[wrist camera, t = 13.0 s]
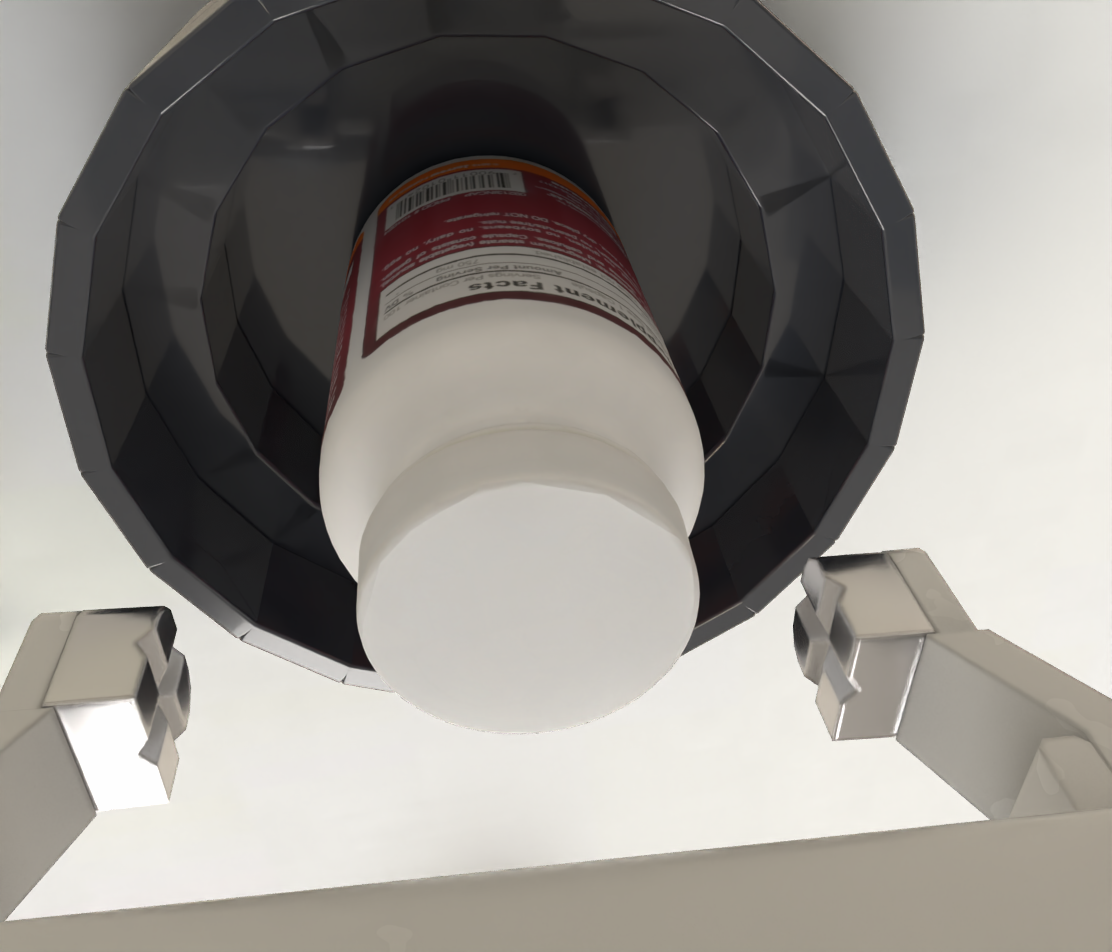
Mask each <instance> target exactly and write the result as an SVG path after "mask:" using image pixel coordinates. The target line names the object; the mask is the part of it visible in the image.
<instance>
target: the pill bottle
mask: <svg viewBox="0 0 1112 952" xmlns="http://www.w3.org/2000/svg"><path fill="white" fill-rule="evenodd" d="M703 488H704V454H703V447H702V442H701V437H700V433H699V429H698V425H697V422H696V419H695V416H694V413H693V411H692V409H691V406H690V404H689V401H688V398H687V395H686V393H685V390H684V388H683V386H682V384H681V381H680V379H679V376H678V374H677V372H676V370H675V367H674V365H673V363H672V360H671V358H670V356H669V352H668V350H667V348H666V346H665V344H664V341H663V338H662V336H661V334H660V332H659V330H658V327H657V325H656V323H655V320H654V318H653V315H652V313H651V311H650V308H649V306H648V304H647V301H646V299H645V297H644V294H643V292H642V290H641V287H640V285H639V283H638V280H637V278H636V275H635V273H634V271H633V269H632V266H631V264H630V261H629V259H628V257H627V254H626V252H625V249H624V247H623V245H622V243H621V240H620V238H619V236H618V234H617V232H616V231H615V229H614V227H613V226H612V224H611V223H610V221H609V219H608V218H607V217H606V215H605V214H604V213H603V211H602V210H601V209H600V208H599V206H598V205H597V204H596V203H595V201H594V200H593V199H592V198H591V197H590V196H589V195H588V194H587V193H586V192H585V191H583V190H582V189H581V188H580V187H578V186H577V185H576V184H575V183H573V182H572V181H570V180H569V179H567V178H566V177H564V176H563V175H561V174H559V173H557V172H555V171H553V170H551V169H549V168H547V167H544V166H542V165H539V164H536V163H534V162H530V161H526V160H522V159H518V158H513V157H506V156H493V155H490V156H470V157H464V158H458V159H453V160H450V161H446V162H443V163H440V164H437V165H434V166H432V167H429V168H427V169H425V170H423V171H421V172H419V173H417V174H415V175H414V176H412V177H410V178H409V179H407V180H406V181H404V182H403V183H402V184H400V185H399V186H398V187H397V188H395V189H394V190H393V191H392V192H391V193H390V194H389V195H388V196H387V197H385V198H384V199H383V201H382V202H381V203H380V204H379V205H378V206H377V208H376V209H375V210H374V211H373V213H372V214H371V215H370V217H369V218H368V220H367V221H366V223H365V225H364V226H363V228H362V230H361V232H360V234H359V236H358V238H357V240H356V243H355V246H354V249H353V252H352V255H351V259H350V262H349V266H348V271H347V276H346V281H345V289H344V296H343V302H342V307H341V313H340V322H339V329H338V336H337V343H336V350H335V358H334V365H333V371H332V378H331V386H330V392H329V398H328V405H327V412H326V419H325V427H324V433H323V437H322V444H321V457H320V467H319V489H320V502H321V509H322V514H323V518H324V521H325V525H326V529H327V532H328V534H329V537H330V540H331V542H332V545H333V547H334V549H335V550H336V552H337V554H338V556H339V558H340V560H341V561H342V563H343V564H344V566H345V567H346V568H347V570H348V571H349V573H350V574H351V575H352V577H353V578H354V580H355V581H356V582H357V583H358V587H357V604H356V612H357V625H358V631H359V635H360V638H361V641H362V645H363V648H364V650H365V653H366V655H367V657H368V659H369V661H370V663H371V664H372V666H373V667H374V669H375V671H376V672H377V673H378V675H379V676H380V677H381V679H382V680H383V681H384V682H385V683H386V684H387V685H388V686H389V687H390V689H392V690H393V691H394V692H395V693H396V694H397V695H399V696H400V697H401V698H402V699H404V700H405V701H407V702H408V703H410V704H411V705H413V706H414V707H416V708H417V709H419V710H421V711H423V712H425V713H427V714H429V715H431V716H433V717H435V718H437V719H440V720H442V721H445V722H447V723H450V724H453V725H456V726H460V727H464V728H467V729H472V730H477V731H483V732H490V733H500V734H530V733H543V732H553V731H558V730H563V729H568V728H572V727H575V726H579V725H582V724H586V723H588V722H591V721H594V720H596V719H599V718H602V717H604V716H607V715H609V714H611V713H613V712H615V711H617V710H619V709H621V708H623V707H625V706H626V705H628V704H630V703H631V702H633V701H635V700H636V699H638V698H639V697H640V696H642V695H643V694H644V693H646V692H647V691H648V690H649V689H650V688H652V687H653V686H654V685H655V684H656V683H657V682H658V681H659V680H661V679H662V678H663V677H664V676H665V675H666V674H667V672H668V671H669V670H670V669H671V668H672V667H673V665H674V664H675V663H676V661H677V660H678V658H679V657H680V656H681V654H682V652H683V651H684V649H685V647H686V645H687V643H688V641H689V639H690V636H691V634H692V631H693V629H694V626H695V623H696V619H697V613H698V607H699V597H700V590H699V578H698V573H697V568H696V564H695V561H694V557H693V554H692V550H691V547H690V543H689V539H688V537H689V535H690V533H691V531H692V529H693V526H694V523H695V521H696V518H697V515H698V511H699V507H700V503H701V498H702V494H703Z"/></svg>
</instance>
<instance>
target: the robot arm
mask: <svg viewBox="0 0 1112 952" xmlns="http://www.w3.org/2000/svg"><path fill="white" fill-rule="evenodd" d="M801 583H802V585H803V587H804V589H805V592H806V594H807V596H806V597H805V598H804V599H803V600H802V601H801V602H800V603H799V604H798V605H797V606H796V610H795V616H794V623H793V633H794V647H795V651H796V655H797V659H798V662H799V665H800V667H801V670H802V672H803V674H804V676H805V677H806V678H808V679H809V680H811V681H812V682H813V683H815V684H816V685H818V691H817V696H816V700H815V702H816V705H817V707H818V709H819V711H820V714H821V716H822V718H823V720H824V723H825V725H826V727H827V730H828V732H829V734H830V736H831V739H832V741H839V740H854V739H869V738H884V737H896V740H897V741H898V742H899V743H900V744H901V745H903V746H904V747H905V748H906V749H907V750H908V751H910V752H911V753H912V754H913V755H914V756H915V757H917V758H918V759H919V760H920V761H921V762H923V763H924V764H925V765H926V766H927V767H928V768H930V769H931V770H932V771H933V772H934V773H936V774H937V775H938V776H939V777H940V778H941V779H943V780H944V781H945V782H946V783H947V784H949V785H950V786H951V787H952V788H953V789H954V790H956V791H957V792H958V793H959V794H960V795H961V796H963V797H964V798H965V799H966V800H967V801H969V802H970V803H971V804H972V805H973V806H974V807H976V808H977V809H978V810H979V811H980V812H982V813H983V814H984V815H985V816H986V817H987V818H989V819H990V820H985V821H975V822H965V823H956V824H946V825H936V826H926V827H917V828H907V829H898V830H888V831H878V832H869V833H859V834H850V835H840V836H831V837H821V838H811V839H801V840H791V841H781V842H772V843H762V844H752V845H742V846H732V847H722V848H713V849H703V850H693V851H683V852H673V853H663V854H654V855H644V856H634V857H624V858H614V859H605V860H595V861H585V862H576V863H566V864H556V865H547V866H537V867H527V868H517V869H508V870H498V871H488V872H479V873H469V874H459V875H450V876H440V877H430V878H421V879H411V880H401V881H392V882H382V883H372V884H362V885H353V886H343V887H333V888H324V889H314V890H304V891H294V892H285V893H275V894H265V895H255V896H246V897H236V898H226V899H217V900H207V901H197V902H187V903H178V904H168V905H158V906H149V907H139V908H129V909H119V910H110V911H100V912H90V913H81V914H71V915H61V916H51V917H42V918H32V919H22V920H13V921H5V920H6V919H7V918H8V916H9V915H10V914H11V913H12V912H13V911H14V910H15V908H16V907H17V906H18V905H19V904H20V903H21V901H22V900H23V899H24V898H25V897H26V896H27V895H28V893H29V892H30V891H31V890H32V889H33V888H34V887H35V885H36V884H37V883H38V882H39V881H40V880H41V879H42V877H43V876H44V875H45V874H46V873H47V872H48V871H49V869H50V868H51V867H52V866H53V865H54V864H55V862H56V861H57V860H58V859H59V858H60V857H61V856H62V854H63V853H64V852H65V851H66V850H67V849H68V848H69V846H70V845H71V844H72V843H73V842H74V841H75V840H76V838H77V837H78V836H79V835H80V834H81V833H82V832H83V830H84V829H85V828H86V827H87V826H88V825H89V823H90V822H91V821H92V820H93V819H94V818H95V817H96V812H95V811H104V810H112V809H120V808H129V807H137V806H146V805H154V804H162V803H169V800H170V796H171V792H172V787H173V783H174V779H175V775H176V770H177V766H178V762H179V756H178V752H177V749H176V746H175V742H174V740H175V739H176V738H178V737H179V736H180V735H181V734H182V733H183V732H184V731H185V730H186V727H187V722H188V717H189V712H190V694H191V686H190V678H189V670H188V666H187V663H186V659H185V655H183V654H182V653H181V652H179V651H178V650H176V649H175V648H174V647H173V643H174V639H175V635H176V631H177V628H176V625H175V622H174V619H173V616H172V613H171V610H170V609H169V608H167V607H165V606H155V607H136V608H117V609H98V610H83V611H75V612H55V613H41V614H39V615H38V616H37V617H36V618H35V619H33V621H32V622H31V624H30V626H29V628H28V630H27V633H26V635H25V637H24V640H23V642H22V644H21V646H20V649H19V651H18V653H17V655H16V658H15V660H14V662H13V664H12V667H11V669H10V671H9V673H8V676H7V678H6V680H5V683H4V685H3V687H2V689H1V692H0V952H1112V699H1110V698H1109V697H1107V696H1105V695H1103V694H1102V693H1100V692H1098V691H1096V690H1095V689H1093V688H1091V687H1089V686H1088V685H1086V684H1084V683H1082V682H1080V681H1079V680H1077V679H1075V678H1073V677H1072V676H1070V675H1068V674H1066V673H1065V672H1063V671H1061V670H1059V669H1058V668H1056V667H1054V666H1052V665H1050V664H1049V663H1047V662H1045V661H1043V660H1042V659H1040V658H1038V657H1036V656H1035V655H1033V654H1031V653H1029V652H1028V651H1026V650H1024V649H1022V648H1020V647H1019V646H1017V645H1015V644H1013V643H1012V642H1010V641H1008V640H1006V639H1005V638H1003V637H1001V636H999V635H997V634H996V633H994V632H992V631H990V630H989V629H987V630H977V628H976V627H975V625H974V624H973V622H972V621H971V619H970V618H969V616H968V615H967V613H966V612H965V610H964V609H963V607H962V606H961V604H960V603H959V601H958V600H957V598H956V597H955V595H954V594H953V592H952V591H951V589H950V588H949V586H948V585H947V583H946V582H945V580H944V579H943V577H942V576H941V574H940V573H939V571H938V570H937V568H936V567H935V565H934V564H933V562H932V561H931V559H930V558H929V556H928V555H927V553H926V552H925V551H923V550H921V549H920V548H911V549H901V550H890V551H882V552H881V553H880V552H875V553H863V554H851V555H838V556H826V557H814V558H808V560H807V562H806V563H805V565H804V568H803V573H802V577H801Z"/></svg>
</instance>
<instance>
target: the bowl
mask: <svg viewBox="0 0 1112 952" xmlns="http://www.w3.org/2000/svg"><path fill="white" fill-rule="evenodd" d="M490 155H493V156H506V157H513V158H518V159H522V160H526V161H530V162H534V163H536V164H539V165H542V166H544V167H547V168H549V169H551V170H553V171H555V172H557V173H559V174H561V175H563V176H564V177H566V178H567V179H569V180H570V181H572V182H573V183H575V184H576V185H577V186H578V187H580V188H581V189H582V190H583V191H585V192H586V193H587V194H588V195H589V196H590V197H591V198H592V199H593V200H594V201H595V203H596V204H597V205H598V206H599V208H600V209H601V210H602V211H603V213H604V214H605V215H606V217H607V218H608V219H609V221H610V223H611V224H612V226H613V227H614V229H615V231H616V232H617V234H618V236H619V238H620V240H621V243H622V245H623V247H624V249H625V252H626V254H627V257H628V259H629V261H630V264H631V266H632V269H633V271H634V273H635V275H636V278H637V280H638V283H639V285H640V287H641V290H642V292H643V294H644V297H645V299H646V301H647V304H648V306H649V308H650V311H651V313H652V315H653V318H654V320H655V323H656V325H657V327H658V330H659V332H660V334H661V336H662V338H663V341H664V344H665V346H666V348H667V350H668V352H669V356H670V358H671V360H672V363H673V365H674V367H675V370H676V372H677V374H678V376H679V379H680V381H681V384H682V386H683V388H684V390H685V393H686V395H687V398H688V401H689V404H690V406H691V409H692V411H693V413H694V416H695V419H696V422H697V425H698V429H699V433H700V437H701V442H702V447H703V454H704V488H703V494H702V498H701V503H700V507H699V511H698V515H697V518H696V521H695V523H694V526H693V529H692V531H691V533H690V535H689V537H688V539H689V543H690V547H691V550H692V554H693V557H694V561H695V564H696V568H697V573H698V578H699V590H700V597H699V607H698V613H697V619H696V623H695V626H694V629H693V631H692V634H691V636H690V639H689V641H688V643H687V645H686V647H685V649H684V651H683V652H682V654H681V656H682V655H684V654H686V653H688V652H689V651H691V650H693V649H695V648H697V647H699V646H700V645H702V644H704V643H706V642H708V641H710V640H711V639H713V638H715V637H717V636H719V635H721V634H722V633H724V632H726V631H728V630H730V629H732V628H733V627H735V626H737V625H739V624H741V623H743V622H744V621H746V620H748V619H750V618H752V617H754V616H755V614H757V613H759V612H760V611H761V610H762V609H763V608H764V607H766V606H767V605H768V604H769V603H770V602H771V601H772V600H773V599H774V598H775V597H776V596H778V595H779V594H780V593H781V592H782V591H783V590H784V589H785V588H786V587H787V586H788V585H790V584H791V583H792V582H793V581H794V580H795V579H796V578H797V577H798V576H799V575H800V574H802V573H803V568H804V565H805V563H806V562H807V560H808V558H814V557H820V556H821V555H822V554H823V553H825V552H826V551H827V550H828V549H829V548H830V547H831V546H832V545H833V544H834V543H835V540H837V539H838V538H839V537H840V535H841V534H842V532H843V530H844V529H845V527H846V526H847V524H848V523H849V521H850V519H851V518H852V516H853V515H854V513H855V511H856V510H857V508H858V507H859V505H860V503H861V502H862V500H863V499H864V497H865V495H866V494H867V492H868V491H869V489H870V487H871V486H872V484H873V483H874V481H875V479H876V478H877V476H878V475H879V473H880V471H881V470H882V468H883V467H884V465H885V463H886V462H887V460H888V459H889V457H890V456H891V454H892V452H893V451H894V446H895V445H896V444H897V440H898V436H899V433H900V429H901V425H902V421H903V417H904V413H905V410H906V406H907V402H908V398H909V394H910V390H911V387H912V383H913V379H914V375H915V371H916V368H917V364H918V360H919V356H920V352H921V348H922V345H923V341H924V335H923V334H924V332H925V329H924V317H923V305H922V294H921V282H920V270H919V258H918V247H917V235H916V223H915V215H914V213H913V212H914V209H913V207H912V205H911V202H910V200H909V198H908V196H907V194H906V192H905V190H904V188H903V186H902V184H901V182H900V180H899V178H898V176H897V174H896V172H895V169H894V167H893V165H892V163H891V161H890V159H889V157H888V155H887V153H886V151H885V149H884V147H883V145H882V143H881V141H880V139H879V136H878V134H877V132H876V130H875V128H874V126H873V124H872V122H871V120H870V118H869V116H868V114H867V112H866V110H865V108H864V106H863V104H862V101H861V99H860V97H859V95H858V93H857V92H856V91H854V89H853V87H852V86H851V85H850V84H849V83H848V82H847V81H846V80H845V79H844V78H842V77H841V76H840V75H839V74H838V73H837V72H836V71H835V70H834V69H833V68H832V67H831V66H829V65H828V64H827V63H826V62H825V61H824V60H823V59H822V58H821V57H820V56H819V55H817V54H816V53H815V52H814V51H813V50H812V49H811V48H810V47H809V46H808V45H807V44H806V43H804V42H803V41H802V40H801V39H800V38H799V37H798V36H797V35H796V34H795V33H794V32H793V31H791V30H790V29H789V28H788V27H787V26H786V25H785V24H784V23H783V22H782V21H781V20H779V19H778V18H777V17H776V16H775V15H774V14H773V13H772V12H771V11H770V10H769V9H768V8H766V7H765V6H764V5H763V4H762V3H761V2H760V1H759V0H211V1H210V2H208V3H207V4H206V5H205V6H204V7H203V8H201V9H200V10H199V11H198V12H197V13H196V14H195V15H194V16H193V17H192V18H191V19H190V20H189V21H188V23H187V24H186V25H185V26H184V27H183V28H182V29H181V30H180V31H179V32H178V33H177V34H176V35H175V36H174V37H173V38H172V39H171V40H170V42H169V43H167V44H166V45H165V46H164V48H163V49H162V50H161V51H160V52H159V53H158V54H157V55H156V56H155V57H154V58H153V59H152V60H151V61H150V62H149V63H148V64H147V65H146V66H145V67H144V69H143V70H142V71H141V72H140V73H139V74H138V75H137V76H136V77H135V78H134V79H133V80H132V81H131V82H130V83H129V85H128V86H127V87H126V88H125V89H124V90H123V92H122V94H121V96H120V98H119V100H118V102H117V104H116V106H115V108H114V110H113V111H112V113H111V115H110V117H109V119H108V121H107V123H106V125H105V127H104V129H103V131H102V132H101V134H100V136H99V138H98V140H97V142H96V144H95V146H94V148H93V150H92V152H91V154H90V155H89V157H88V159H87V161H86V163H85V165H84V167H83V169H82V171H81V173H80V175H79V177H78V178H77V180H76V182H75V184H74V186H73V188H72V190H71V192H70V194H69V196H68V198H67V200H66V201H65V203H64V205H63V207H62V209H61V211H60V213H59V215H58V219H59V220H58V221H57V225H56V236H55V247H54V257H53V268H52V279H51V290H50V301H49V312H48V323H47V334H46V345H45V349H46V352H47V353H46V358H47V361H48V364H49V368H50V371H51V375H52V378H53V382H54V385H55V389H56V392H57V396H58V399H59V403H60V406H61V410H62V413H63V416H64V420H65V423H66V427H67V430H68V434H69V437H70V441H71V444H72V448H73V451H74V455H75V458H76V462H77V465H78V469H79V471H81V475H82V477H83V478H84V480H85V481H86V483H87V484H88V486H89V487H90V488H91V490H92V491H93V493H94V494H95V495H96V497H97V498H98V500H99V501H100V502H101V504H102V505H103V507H104V508H105V510H106V511H107V512H108V514H109V515H110V517H111V518H112V519H113V521H114V522H115V524H116V525H117V526H118V528H119V529H120V531H121V532H122V534H123V535H124V536H125V538H126V539H127V541H128V542H129V543H130V545H131V546H132V548H133V549H134V550H135V552H136V553H137V555H138V556H139V558H140V559H141V560H142V562H143V563H144V565H145V566H146V567H147V568H150V571H151V572H152V573H153V574H155V575H156V576H157V577H158V578H160V579H161V580H162V581H164V582H165V583H166V584H167V585H169V586H170V587H171V588H173V589H174V590H175V591H176V592H178V593H179V594H180V595H182V596H183V597H184V598H185V599H187V600H188V601H189V602H191V603H192V604H193V605H194V606H196V607H197V608H198V609H200V610H201V611H202V612H203V613H205V614H206V615H207V616H209V617H210V618H211V619H212V620H214V621H215V622H216V623H218V624H219V625H220V626H221V627H223V628H224V629H225V630H227V631H228V632H229V633H230V634H232V635H233V636H234V637H236V638H240V640H241V641H242V642H245V643H247V644H250V645H252V646H254V647H257V648H259V649H261V650H264V651H266V652H268V653H271V654H273V655H275V656H278V657H280V658H282V659H285V660H287V661H290V662H292V663H294V664H297V665H299V666H301V667H304V668H306V669H308V670H311V671H313V672H315V673H318V674H320V675H322V676H325V677H327V678H330V679H332V680H334V681H337V682H342V683H343V684H346V685H352V686H358V687H364V688H370V689H376V690H382V691H388V692H394V691H393V690H392V689H390V687H389V686H388V685H387V684H386V683H385V682H384V681H383V680H382V679H381V677H380V676H379V675H378V673H377V672H376V671H375V669H374V667H373V666H372V664H371V663H370V661H369V659H368V657H367V655H366V653H365V650H364V648H363V645H362V641H361V638H360V635H359V631H358V625H357V612H356V604H357V587H358V583H357V582H356V581H355V580H354V578H353V577H352V575H351V574H350V573H349V571H348V570H347V568H346V567H345V566H344V564H343V563H342V561H341V560H340V558H339V556H338V554H337V552H336V550H335V549H334V547H333V545H332V542H331V540H330V537H329V534H328V532H327V529H326V525H325V521H324V518H323V514H322V509H321V502H320V489H319V467H320V457H321V444H322V437H323V433H324V427H325V419H326V412H327V405H328V398H329V392H330V386H331V378H332V371H333V365H334V358H335V350H336V343H337V336H338V329H339V322H340V313H341V307H342V302H343V296H344V289H345V281H346V276H347V271H348V266H349V262H350V259H351V255H352V252H353V249H354V246H355V243H356V240H357V238H358V236H359V234H360V232H361V230H362V228H363V226H364V225H365V223H366V221H367V220H368V218H369V217H370V215H371V214H372V213H373V211H374V210H375V209H376V208H377V206H378V205H379V204H380V203H381V202H382V201H383V199H384V198H385V197H387V196H388V195H389V194H390V193H391V192H392V191H393V190H394V189H395V188H397V187H398V186H399V185H400V184H402V183H403V182H404V181H406V180H407V179H409V178H410V177H412V176H414V175H415V174H417V173H419V172H421V171H423V170H425V169H427V168H429V167H432V166H434V165H437V164H440V163H443V162H446V161H450V160H453V159H458V158H464V157H470V156H490ZM394 693H395V692H394Z"/></svg>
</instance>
